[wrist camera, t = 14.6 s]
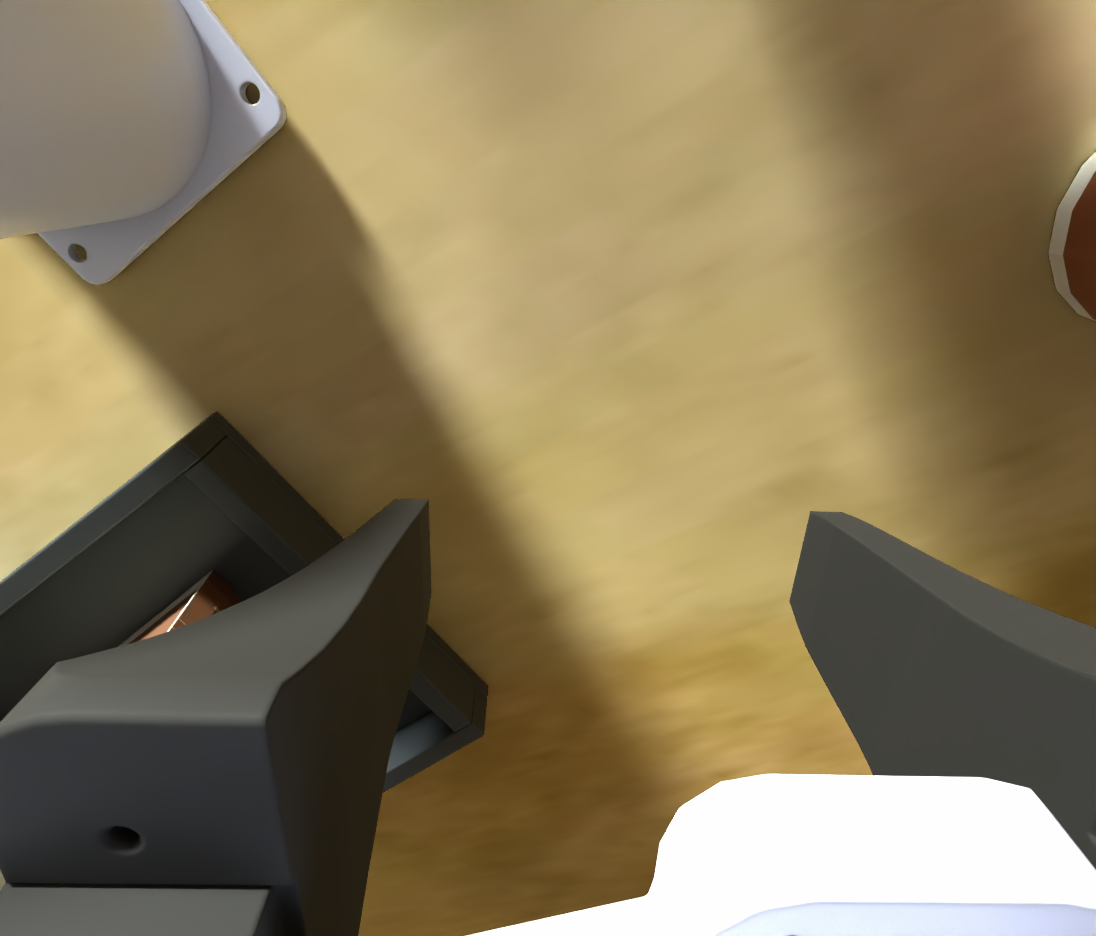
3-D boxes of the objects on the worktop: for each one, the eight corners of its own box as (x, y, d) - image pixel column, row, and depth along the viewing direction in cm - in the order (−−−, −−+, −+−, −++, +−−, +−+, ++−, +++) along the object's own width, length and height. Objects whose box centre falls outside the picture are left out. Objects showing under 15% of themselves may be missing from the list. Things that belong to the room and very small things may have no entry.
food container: (158, 800, 29) (-12, 1095, 20) (31, 716, 27) (-224, 1003, 18) (366, 654, 26) (277, 923, 17) (241, 546, 24) (62, 787, 15)
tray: (-103, 662, 26) (-164, 712, 24) (217, 409, 22) (180, 440, 20) (187, 862, 32) (159, 920, 29) (489, 686, 28) (485, 736, 25)
